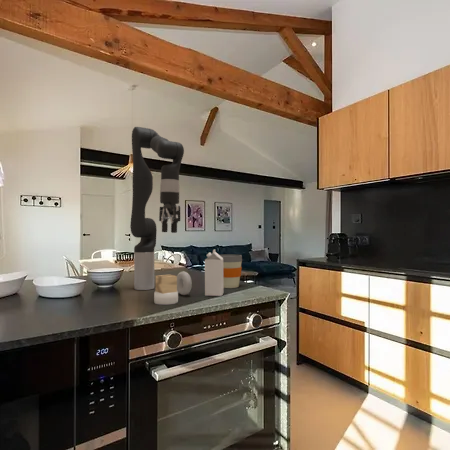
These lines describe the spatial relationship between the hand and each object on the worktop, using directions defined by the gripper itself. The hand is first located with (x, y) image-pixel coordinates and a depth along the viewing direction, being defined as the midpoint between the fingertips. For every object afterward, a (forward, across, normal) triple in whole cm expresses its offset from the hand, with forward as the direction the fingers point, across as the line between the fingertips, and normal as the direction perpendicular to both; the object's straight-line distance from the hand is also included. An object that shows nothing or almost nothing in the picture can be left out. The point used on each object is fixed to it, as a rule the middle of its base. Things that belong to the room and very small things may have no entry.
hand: (169, 232), depth 135 cm
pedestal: (+26, -4, +3) cm, 27 cm away
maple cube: (+22, -4, +3) cm, 23 cm away
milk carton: (+26, -3, -20) cm, 33 cm away
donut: (+27, +4, -9) cm, 29 cm away
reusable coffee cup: (+27, +10, -37) cm, 47 cm away
